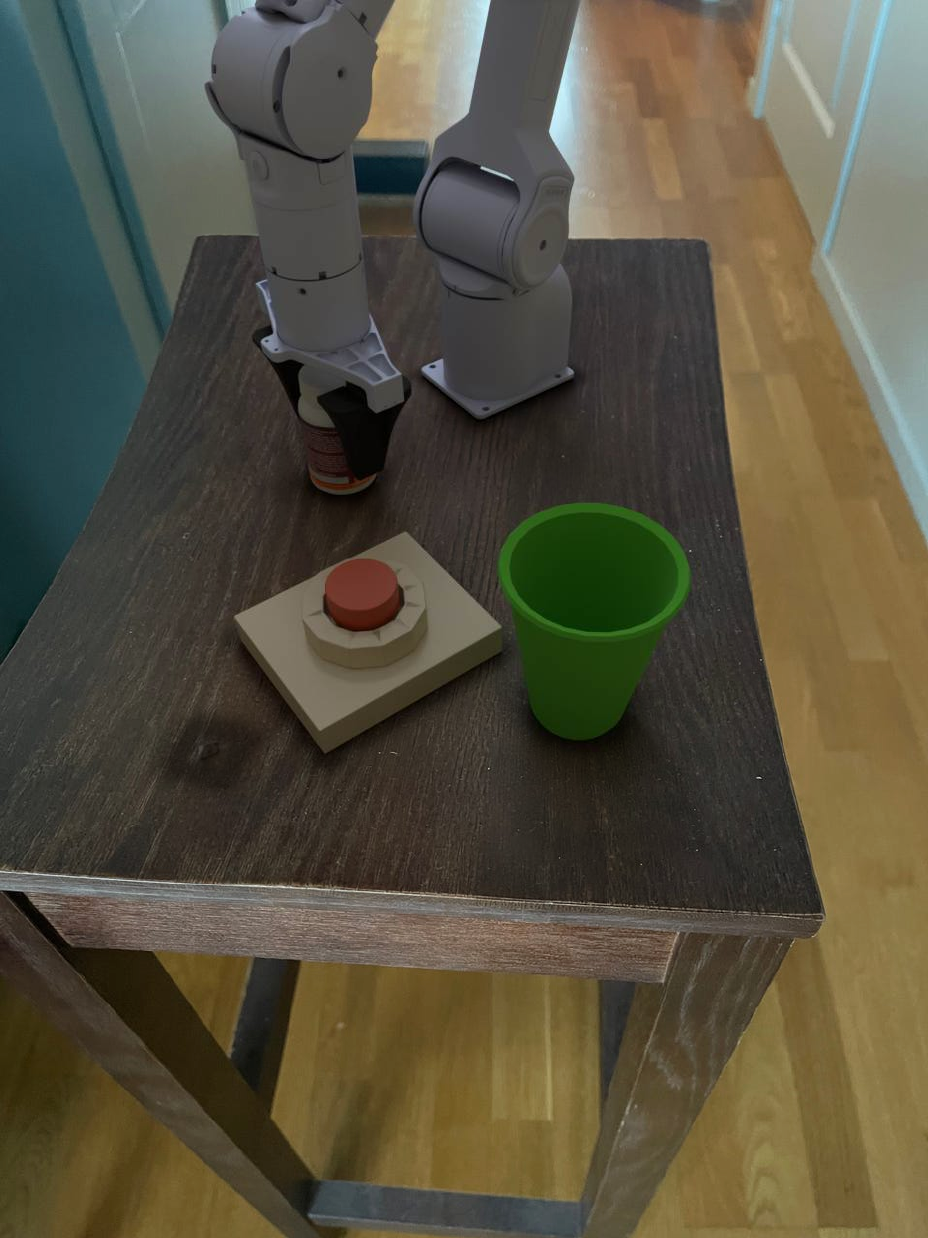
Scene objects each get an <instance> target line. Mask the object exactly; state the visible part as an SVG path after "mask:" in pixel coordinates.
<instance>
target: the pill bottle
mask: <svg viewBox="0 0 928 1238" xmlns="http://www.w3.org/2000/svg"><path fill="white" fill-rule="evenodd" d="M299 385H300V392H301V396H300V399H299V402H298V412H299V417H300V421H299V423H300V428H301V433H302V439H303V443H304V449H305V454H306V460H307V465H308V466H307V468H308V471H309V477H310V480H311V482H312V483H313V485H314V486H315V487H316V488H317V489H318V490H320V491H322V492H325V493H328V494H331V495H337V496H346V495H352V494H355V493H359V492H360V491H363V490H365V489H366V488H367V487H369V486H370V485H371V484H372V483H373V482H374V480H375V479H376V477H377V474H378V473H376V474H374V475H372V476H369V477H367V478H365V479H363V480H361V481H359V480H357V479H356V478H355V477H354V476H353V474H352V472H351V470H350V468H349V466H348V463H347V460H346V457H345V453H344V449H343V446H342V442H341V439H340V437H339V434H338V432H337V430H336V428H335V426H334V424H333V422H332V420H331V419H330V417H329V416H328V414H327V413H326V412H325V410H324V409H323V408H322V407H321V406H320V405H319V403H318V402H317V396H320V395H322V394H325V393H327V392H329V391H332V390H334V389H337V388H339V387H342V386H346V381H345V380H343V379H341V378H338V377H335V376H333V375H330V374H328V373H325V372H323V371H320V370H318V369H315V368H313V367H310V366H308V365H304V366H303V367H302V368H301V369H300V371H299Z"/></svg>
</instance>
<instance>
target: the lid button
mask: <svg viewBox="0 0 928 1238" xmlns="http://www.w3.org/2000/svg"><path fill="white" fill-rule="evenodd" d="M325 593H326V599H327V604H328V609H329V613H330V615H331V617H332V619H333V620H334V621H335V622H336V623H337V624H338V625H340V626H342V627H343V628H346V629H349V630H353V631H369V630H374V629H377V628H380V627H382V626H384V625H385V624H387V623H388V622H389V621H391V620H392V619H393V618H394V616H395V615H396V613H397V611H398V609H399V605H400V599H399V590H398V581H397V577H396V574H395V572H394V571H393V570H392V569H391V568H390V567H389V566H388V565H387V564H385V563H383V562H381V561H378V560H374V559H367V558H362V559H354V560H350V561H347V562H345V563H342V564H341V565H339V566H337V567H336V568H335V569H334V570H333V571H332V572H331V573H330V574H329V576H328V577H327V580H326V583H325Z"/></svg>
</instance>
